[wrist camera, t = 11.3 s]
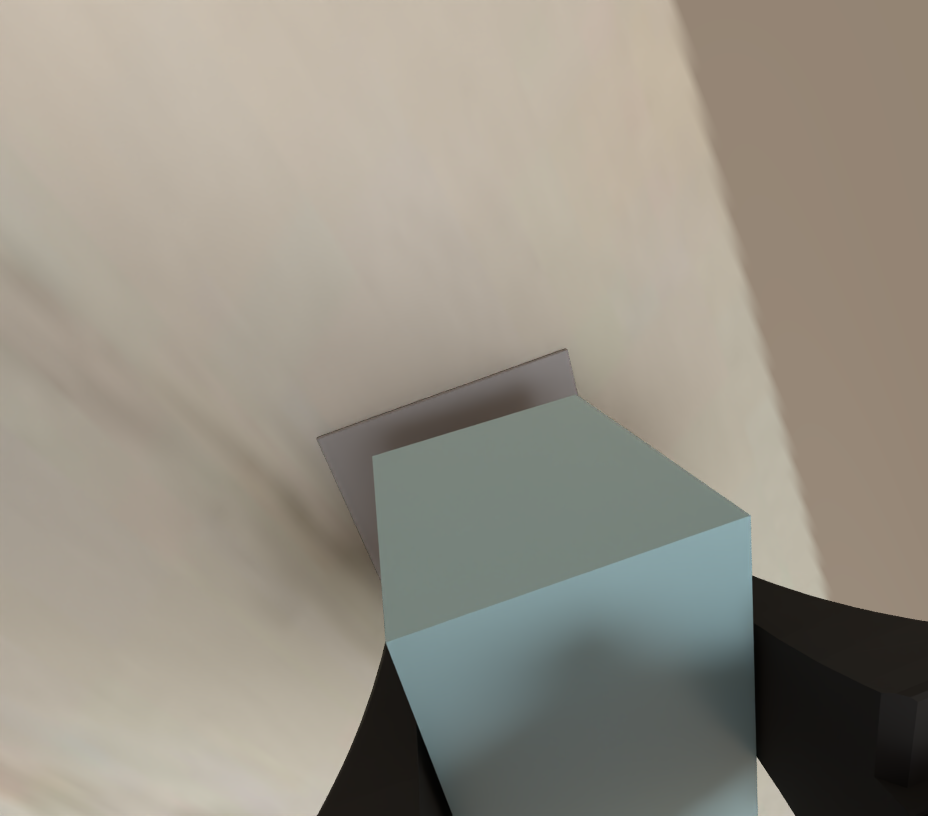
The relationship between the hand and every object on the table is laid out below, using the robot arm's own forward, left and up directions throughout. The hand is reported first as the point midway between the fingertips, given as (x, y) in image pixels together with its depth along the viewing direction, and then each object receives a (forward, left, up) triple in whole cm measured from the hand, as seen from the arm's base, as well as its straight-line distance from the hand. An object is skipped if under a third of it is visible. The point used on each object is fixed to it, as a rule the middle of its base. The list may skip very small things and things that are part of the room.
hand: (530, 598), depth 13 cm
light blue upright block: (0, 0, -2) cm, 2 cm away
